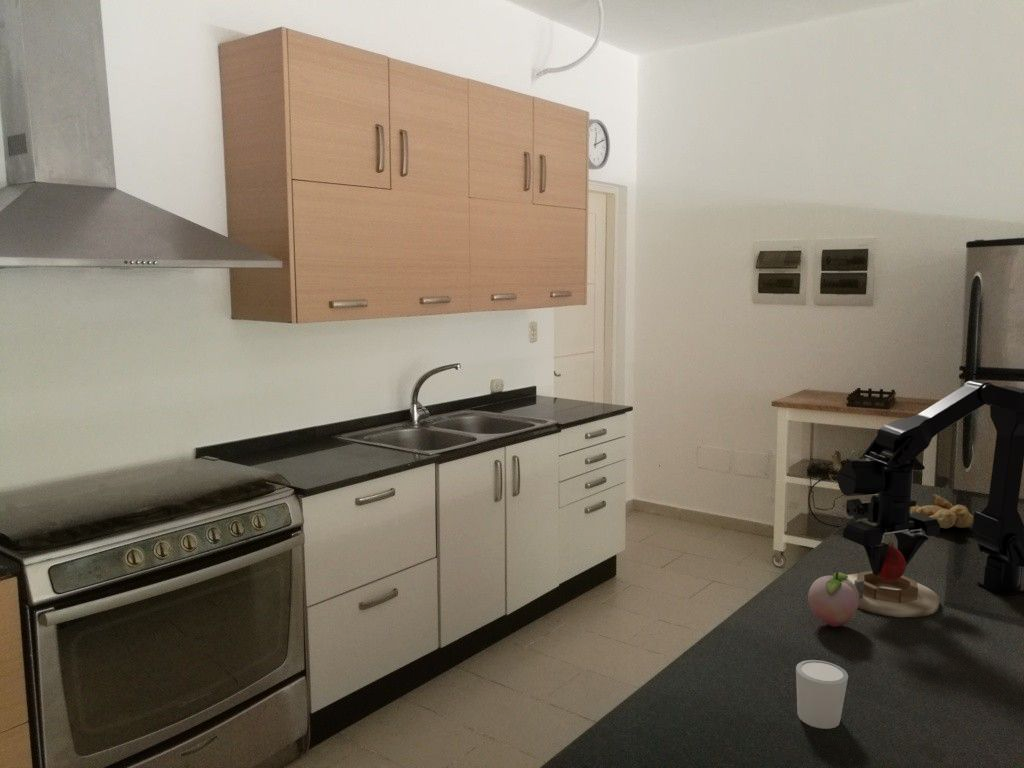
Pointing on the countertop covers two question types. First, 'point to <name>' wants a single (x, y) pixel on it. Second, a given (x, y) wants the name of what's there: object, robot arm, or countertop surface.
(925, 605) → the flange plate
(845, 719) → the countertop surface
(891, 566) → the onion
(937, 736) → the countertop surface
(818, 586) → the decorative fruit
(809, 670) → the white cup
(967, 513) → the ginger root
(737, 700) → the countertop surface
